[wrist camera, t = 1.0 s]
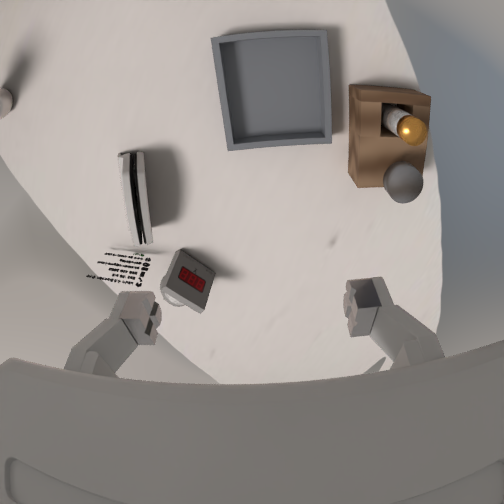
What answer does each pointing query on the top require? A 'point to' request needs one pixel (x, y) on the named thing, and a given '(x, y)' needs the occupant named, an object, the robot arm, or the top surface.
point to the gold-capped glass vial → (403, 124)
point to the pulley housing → (385, 142)
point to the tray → (274, 88)
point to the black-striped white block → (134, 210)
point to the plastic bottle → (5, 102)
